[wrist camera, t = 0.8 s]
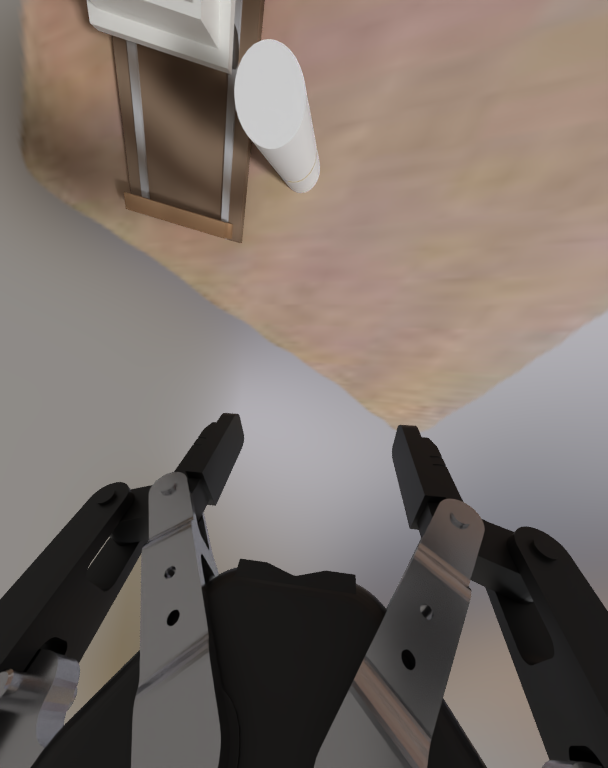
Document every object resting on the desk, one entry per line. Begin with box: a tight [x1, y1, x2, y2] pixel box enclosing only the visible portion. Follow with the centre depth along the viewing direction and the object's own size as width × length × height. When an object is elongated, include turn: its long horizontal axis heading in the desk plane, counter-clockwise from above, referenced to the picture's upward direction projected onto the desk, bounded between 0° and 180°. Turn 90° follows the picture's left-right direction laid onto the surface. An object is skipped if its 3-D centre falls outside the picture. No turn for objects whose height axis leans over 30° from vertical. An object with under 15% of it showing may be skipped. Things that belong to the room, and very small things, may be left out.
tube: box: [234, 39, 320, 193], centre depth 20 cm, size 4×4×15 cm
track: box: [112, 0, 265, 243], centre depth 22 cm, size 26×14×3 cm, turn 166°
